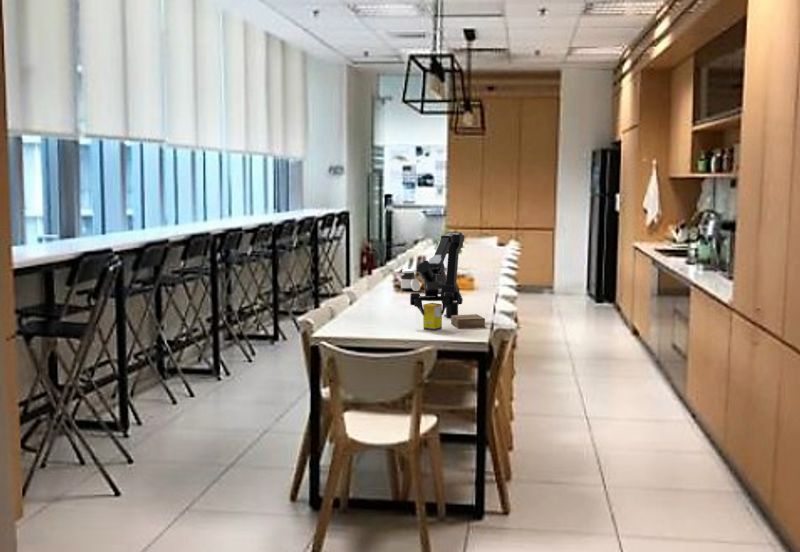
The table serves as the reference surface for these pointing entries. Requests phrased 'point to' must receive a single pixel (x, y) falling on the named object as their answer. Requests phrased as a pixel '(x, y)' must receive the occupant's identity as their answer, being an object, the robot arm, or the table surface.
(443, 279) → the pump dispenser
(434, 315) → the supplement box
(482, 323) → the walnut plinth
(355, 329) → the table surface
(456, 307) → the robot arm
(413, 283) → the spread jar
